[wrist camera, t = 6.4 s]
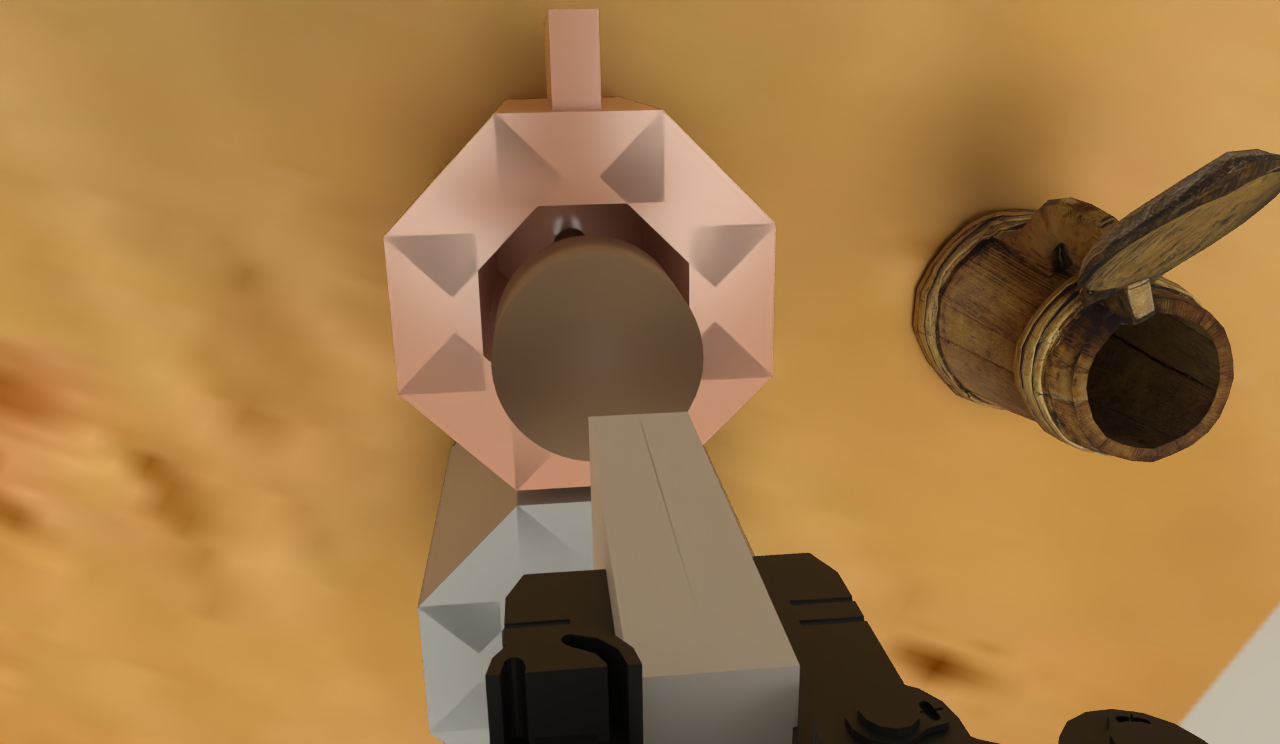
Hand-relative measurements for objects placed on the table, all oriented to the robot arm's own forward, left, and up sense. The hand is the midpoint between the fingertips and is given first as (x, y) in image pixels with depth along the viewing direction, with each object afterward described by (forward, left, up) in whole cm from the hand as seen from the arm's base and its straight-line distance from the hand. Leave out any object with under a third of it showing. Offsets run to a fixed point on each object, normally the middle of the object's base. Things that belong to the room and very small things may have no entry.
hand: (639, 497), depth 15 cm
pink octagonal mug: (-1, 0, -28) cm, 28 cm away
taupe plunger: (0, 0, -25) cm, 25 cm away
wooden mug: (+2, +19, -28) cm, 34 cm away
